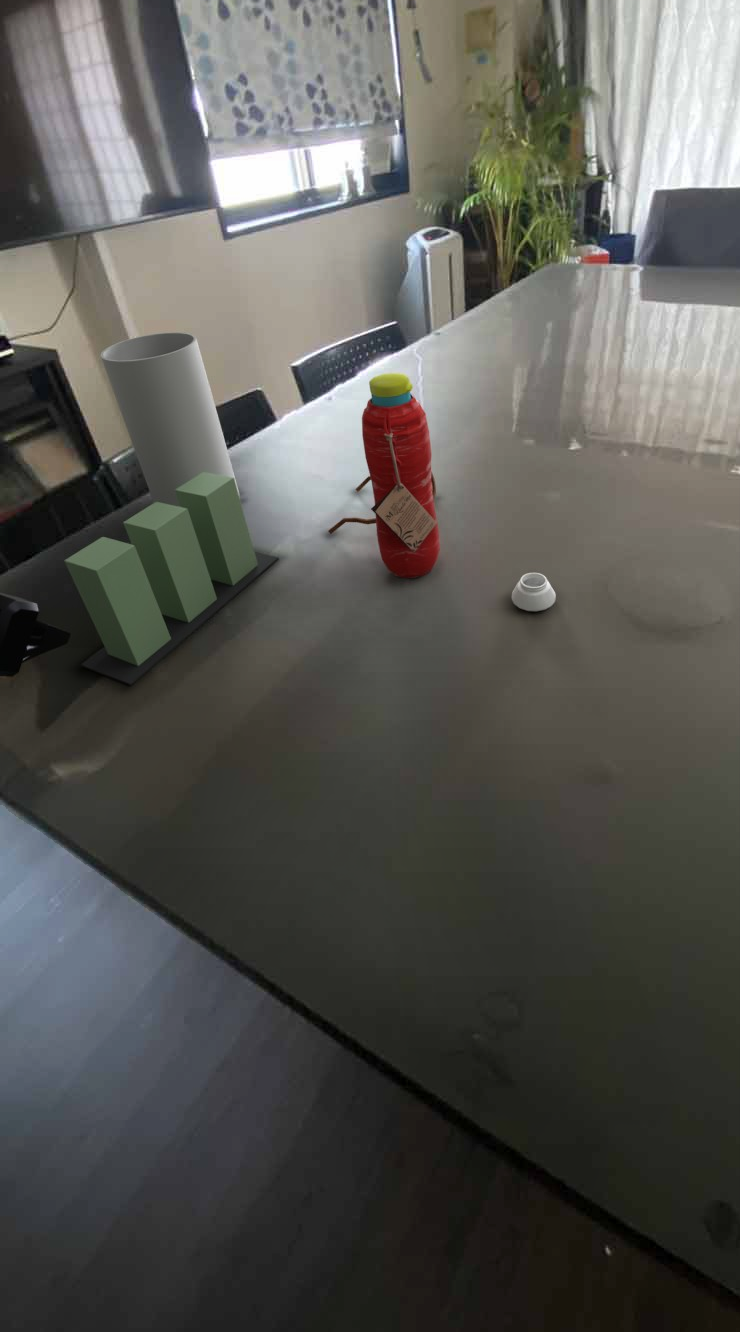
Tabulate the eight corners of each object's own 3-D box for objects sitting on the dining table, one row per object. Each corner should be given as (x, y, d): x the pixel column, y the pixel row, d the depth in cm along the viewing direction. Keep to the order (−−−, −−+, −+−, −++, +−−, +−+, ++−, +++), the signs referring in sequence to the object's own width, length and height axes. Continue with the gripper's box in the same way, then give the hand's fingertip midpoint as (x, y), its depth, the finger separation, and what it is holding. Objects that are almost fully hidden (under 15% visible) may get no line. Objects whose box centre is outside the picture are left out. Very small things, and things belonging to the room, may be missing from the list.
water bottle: (440, 601, 81) (421, 400, 67) (374, 603, 82) (341, 404, 68) (445, 546, 91) (429, 360, 77) (386, 548, 92) (359, 364, 78)
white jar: (524, 583, 83) (504, 606, 79) (524, 563, 81) (503, 585, 78) (562, 595, 80) (543, 618, 77) (563, 574, 78) (543, 598, 75)
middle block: (188, 622, 81) (154, 530, 74) (158, 613, 84) (122, 522, 76) (217, 599, 85) (187, 508, 78) (187, 590, 87) (156, 501, 80)
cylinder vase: (252, 487, 110) (211, 330, 96) (222, 528, 100) (170, 359, 86) (181, 488, 112) (130, 334, 98) (144, 528, 102) (81, 363, 88)
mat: (130, 685, 74) (130, 683, 73) (81, 666, 77) (80, 664, 77) (279, 559, 92) (278, 557, 92) (233, 548, 95) (233, 546, 95)
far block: (233, 585, 87) (205, 496, 80) (204, 577, 89) (174, 489, 82) (258, 565, 91) (233, 477, 83) (229, 557, 93) (203, 471, 85)
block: (138, 666, 76) (95, 570, 68) (108, 654, 78) (63, 560, 70) (171, 639, 79) (134, 545, 72) (141, 628, 81) (102, 536, 74)
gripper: (-40, 519, 49) (130, 565, 63) (-175, 481, 56) (3, 529, 71) (-94, 672, 47) (92, 683, 62) (-223, 611, 55) (-32, 634, 69)
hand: (36, 626), depth 66 cm, fingers open, 9 cm apart
